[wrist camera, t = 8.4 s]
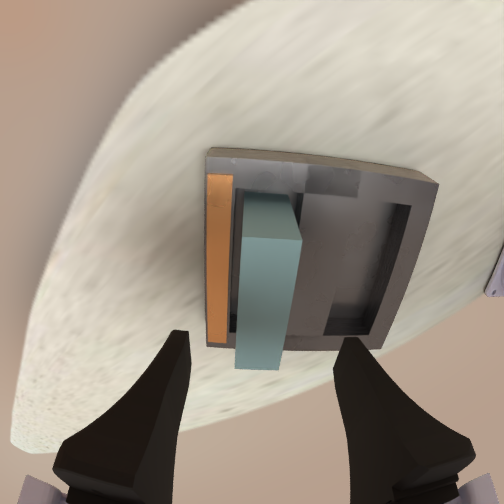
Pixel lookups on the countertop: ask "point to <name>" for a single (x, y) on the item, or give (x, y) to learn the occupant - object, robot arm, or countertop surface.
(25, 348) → the countertop surface
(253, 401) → the countertop surface
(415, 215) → the panel rack
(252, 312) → the panel
